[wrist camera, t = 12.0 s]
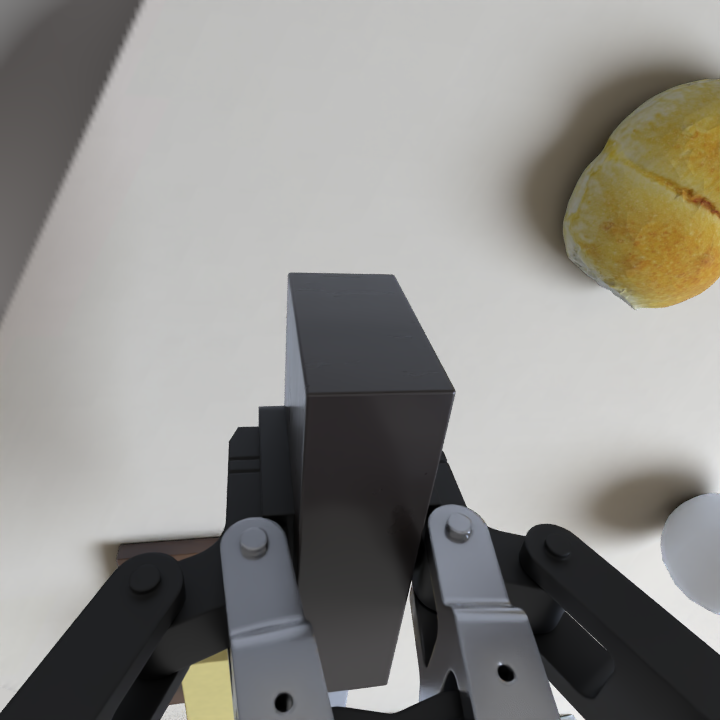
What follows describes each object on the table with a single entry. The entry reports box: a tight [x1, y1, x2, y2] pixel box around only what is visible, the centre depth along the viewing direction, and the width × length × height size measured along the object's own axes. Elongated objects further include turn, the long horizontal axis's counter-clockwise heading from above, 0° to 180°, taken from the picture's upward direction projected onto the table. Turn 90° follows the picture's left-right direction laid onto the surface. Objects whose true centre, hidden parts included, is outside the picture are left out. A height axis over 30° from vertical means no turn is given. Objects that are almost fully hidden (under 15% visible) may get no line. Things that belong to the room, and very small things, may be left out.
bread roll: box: [563, 79, 720, 310], centre depth 21 cm, size 8×9×4 cm
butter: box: [182, 649, 234, 720], centre depth 34 cm, size 4×9×3 cm, turn 174°
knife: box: [284, 273, 455, 707], centre depth 15 cm, size 19×2×4 cm, turn 174°
